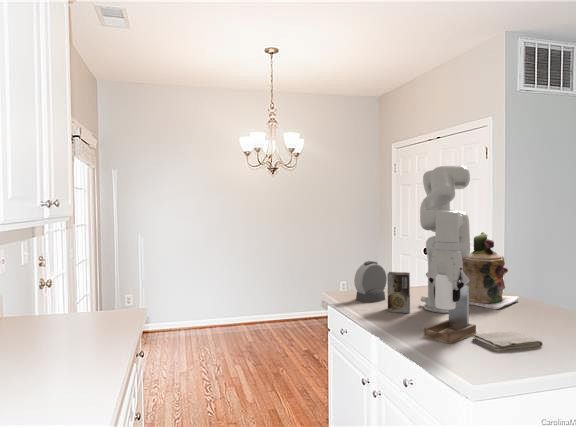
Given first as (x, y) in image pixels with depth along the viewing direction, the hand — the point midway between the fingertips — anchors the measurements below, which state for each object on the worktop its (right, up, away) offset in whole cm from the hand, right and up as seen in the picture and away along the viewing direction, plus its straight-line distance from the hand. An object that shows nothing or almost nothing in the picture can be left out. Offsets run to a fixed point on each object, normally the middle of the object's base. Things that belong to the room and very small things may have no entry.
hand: (446, 298), depth 141 cm
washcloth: (+17, -14, -7) cm, 23 cm away
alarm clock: (-15, -12, +55) cm, 58 cm away
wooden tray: (+2, -13, +2) cm, 13 cm away
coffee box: (-7, -12, +35) cm, 37 cm away
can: (-1, -3, 0) cm, 3 cm away
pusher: (+6, -12, +6) cm, 15 cm away
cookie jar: (+37, -12, +52) cm, 64 cm away
